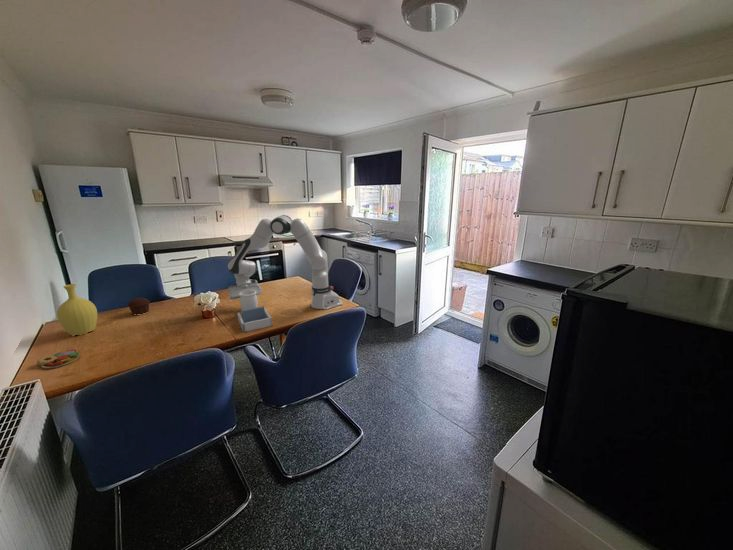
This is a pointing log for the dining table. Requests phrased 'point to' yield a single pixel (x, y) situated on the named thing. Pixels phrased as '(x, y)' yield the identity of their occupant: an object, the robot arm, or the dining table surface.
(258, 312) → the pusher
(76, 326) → the vase
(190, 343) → the dining table surface
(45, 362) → the toy food set
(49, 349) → the dining table surface
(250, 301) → the jar
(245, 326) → the open storage bin
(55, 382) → the dining table surface
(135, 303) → the muffin
